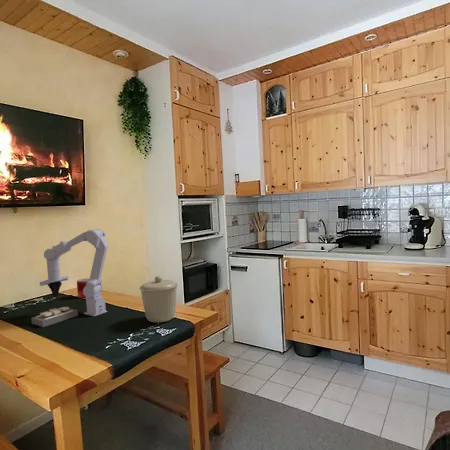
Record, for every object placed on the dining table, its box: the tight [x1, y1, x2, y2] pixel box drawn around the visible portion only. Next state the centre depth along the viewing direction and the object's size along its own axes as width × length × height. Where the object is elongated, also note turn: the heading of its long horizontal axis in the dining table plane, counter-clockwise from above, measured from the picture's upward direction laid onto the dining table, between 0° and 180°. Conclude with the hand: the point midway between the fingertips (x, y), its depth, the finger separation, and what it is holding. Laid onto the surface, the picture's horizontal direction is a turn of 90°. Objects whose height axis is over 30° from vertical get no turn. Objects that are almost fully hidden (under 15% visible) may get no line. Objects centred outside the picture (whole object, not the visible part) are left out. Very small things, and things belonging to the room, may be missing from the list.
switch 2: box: [48, 307, 61, 315], centre depth 167 cm, size 5×3×1 cm, turn 57°
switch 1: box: [39, 311, 52, 317], centre depth 163 cm, size 5×3×1 cm, turn 57°
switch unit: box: [31, 307, 79, 328], centre depth 167 cm, size 10×18×3 cm, turn 147°
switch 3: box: [57, 306, 70, 311], centre depth 171 cm, size 5×3×1 cm, turn 57°
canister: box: [139, 275, 179, 324], centre depth 160 cm, size 18×18×21 cm
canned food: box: [76, 278, 89, 300], centre depth 210 cm, size 8×8×11 cm
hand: (55, 296), depth 177 cm, fingers closed
